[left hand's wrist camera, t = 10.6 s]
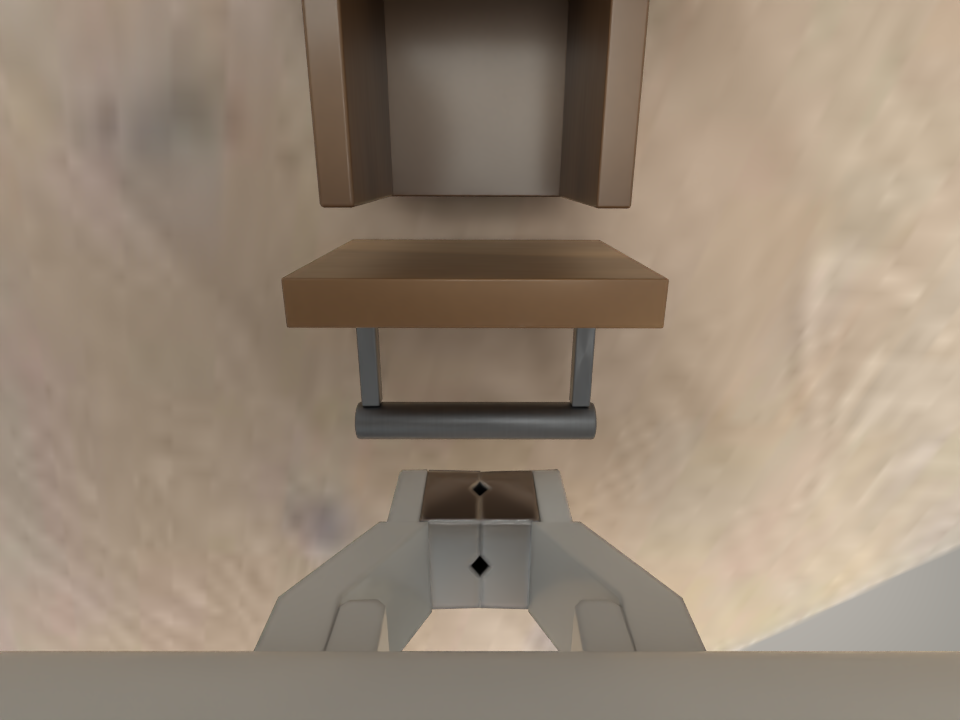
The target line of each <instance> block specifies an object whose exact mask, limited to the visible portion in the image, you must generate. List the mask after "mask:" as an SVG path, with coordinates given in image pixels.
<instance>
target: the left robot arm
mask: <svg viewBox="0 0 960 720" xmlns="http://www.w3.org/2000/svg"><path fill="white" fill-rule="evenodd" d="M456 608H503V609H528V612H529V613H530V614H531V616H532V617H533V618H534V619H535V621H536V622H537V623H538V625H539V626H540V627H541V629H542V630H543V631H544V633H545V634H546V635H547V636H548V638H549V639H550V640H551V642H552V643H553V644H554V646H555V647H556V648H557V650H558V651H402V650H403V649H404V647H405V646H406V645H407V643H408V642H409V641H410V639H411V638H412V637H413V636H414V634H415V633H416V632H417V630H418V629H419V628H420V627H421V625H422V624H423V623H424V621H425V620H426V619H427V617H428V616H429V615H430V614H431V612H432V609H456ZM0 720H960V651H706V649H705V647H704V645H703V643H702V641H701V638H700V636H699V634H698V632H697V630H696V627H695V625H694V623H693V621H692V618H691V616H690V614H689V612H688V610H687V607H686V605H685V603H684V601H683V599H682V597H680V596H679V595H678V594H676V593H675V592H674V591H672V590H671V589H670V588H668V587H667V586H666V585H664V584H663V583H662V582H660V581H659V580H658V579H656V578H655V577H654V576H652V575H651V574H649V573H648V572H647V571H645V570H644V569H643V568H641V567H640V566H639V565H637V564H636V563H635V562H633V561H632V560H631V559H629V558H628V557H627V556H625V555H624V554H623V553H621V552H620V551H619V550H617V549H616V548H615V547H613V546H612V545H611V544H609V543H608V542H607V541H605V540H604V539H603V538H601V537H600V536H599V535H597V534H596V533H595V532H593V531H592V530H591V529H589V528H588V527H587V526H585V525H584V524H583V523H581V522H573V521H572V517H571V513H570V509H569V505H568V501H567V497H566V493H565V489H564V486H563V482H562V478H561V474H560V471H559V470H557V469H555V470H531V471H491V472H480V471H455V470H429V471H427V470H402V471H401V472H400V473H399V477H398V481H397V485H396V489H395V493H394V497H393V501H392V505H391V509H390V513H389V517H388V521H387V522H379V523H377V524H376V525H375V526H373V527H372V528H371V529H369V530H368V531H367V532H365V533H364V534H363V535H361V536H360V537H359V538H357V539H356V540H355V541H353V542H352V543H350V544H349V545H348V546H346V547H345V548H344V549H342V550H341V551H340V552H338V553H337V554H336V555H334V556H333V557H332V558H330V559H329V560H328V561H326V562H325V563H324V564H322V565H321V566H320V567H318V568H317V569H316V570H314V571H313V572H312V573H310V574H309V575H308V576H306V577H305V578H303V579H302V580H301V581H299V582H298V583H297V584H295V585H294V586H293V587H291V588H290V589H289V590H287V591H286V592H285V593H283V594H282V595H281V596H279V597H278V599H277V601H276V604H275V606H274V608H273V610H272V612H271V614H270V617H269V619H268V621H267V623H266V625H265V628H264V630H263V632H262V634H261V636H260V638H259V641H258V643H257V645H256V647H255V649H254V651H0Z"/></svg>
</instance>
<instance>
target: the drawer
mask: <svg viewBox="0 0 960 720" xmlns="http://www.w3.org/2000/svg"><path fill="white" fill-rule="evenodd" d="M302 11H303V22H304V33H305V44H306V55H307V66H308V77H309V89H310V100H311V111H312V122H313V133H314V144H315V155H316V166H317V177H318V188H319V199H320V205H321V206H322V207H350V208H351V207H355V206H358V205H362V204H365V203H369V202H372V201H376V200H379V199H383V198H386V197H390V196H492V197H563V198H567V199H570V200H573V201H576V202H580V203H583V204H586V205H589V206H593V207H596V208H630V206H631V199H632V188H633V177H634V166H635V155H636V144H637V133H638V121H639V110H640V99H641V88H642V77H643V66H644V55H645V44H646V33H647V22H648V11H649V0H302ZM668 283H669V280H668V279H667V278H665V277H664V276H662V275H660V274H658V273H656V272H655V271H653V270H651V269H649V268H648V267H646V266H644V265H642V264H641V263H639V262H637V261H635V260H634V259H632V258H630V257H628V256H627V255H625V254H623V253H621V252H619V251H618V250H616V249H614V248H612V247H611V246H609V245H607V244H605V243H604V242H602V241H600V240H351V241H349V242H348V243H346V244H344V245H342V246H340V247H338V248H337V249H335V250H333V251H331V252H329V253H327V254H326V255H324V256H322V257H320V258H318V259H316V260H315V261H313V262H311V263H309V264H307V265H305V266H304V267H302V268H300V269H298V270H296V271H294V272H293V273H291V274H289V275H287V276H285V277H283V278H282V289H283V297H284V306H285V314H286V323H287V327H289V328H356V332H357V345H358V359H359V372H360V386H361V399H362V402H360V403H358V405H357V408H356V414H355V430H356V435H357V437H358V438H359V439H593V438H594V437H595V433H596V423H597V421H596V410H595V407H594V404H593V403H591V402H590V396H591V383H592V369H593V356H594V343H595V330H596V328H663V325H664V317H665V308H666V300H667V291H668ZM378 328H574V331H573V347H572V364H571V380H570V396H569V400H570V402H381V401H382V384H381V367H380V351H379V334H378Z"/></svg>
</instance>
